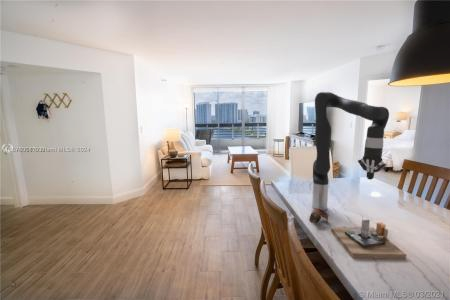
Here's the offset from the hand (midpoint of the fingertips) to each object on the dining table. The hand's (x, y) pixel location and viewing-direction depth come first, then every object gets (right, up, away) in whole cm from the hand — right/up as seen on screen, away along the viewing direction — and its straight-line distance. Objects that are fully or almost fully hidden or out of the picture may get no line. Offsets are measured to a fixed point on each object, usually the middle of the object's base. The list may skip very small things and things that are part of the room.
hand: (369, 179), depth 110 cm
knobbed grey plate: (-7, -27, -9) cm, 30 cm away
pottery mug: (-22, -27, +13) cm, 37 cm away
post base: (-9, -30, -9) cm, 32 cm away
